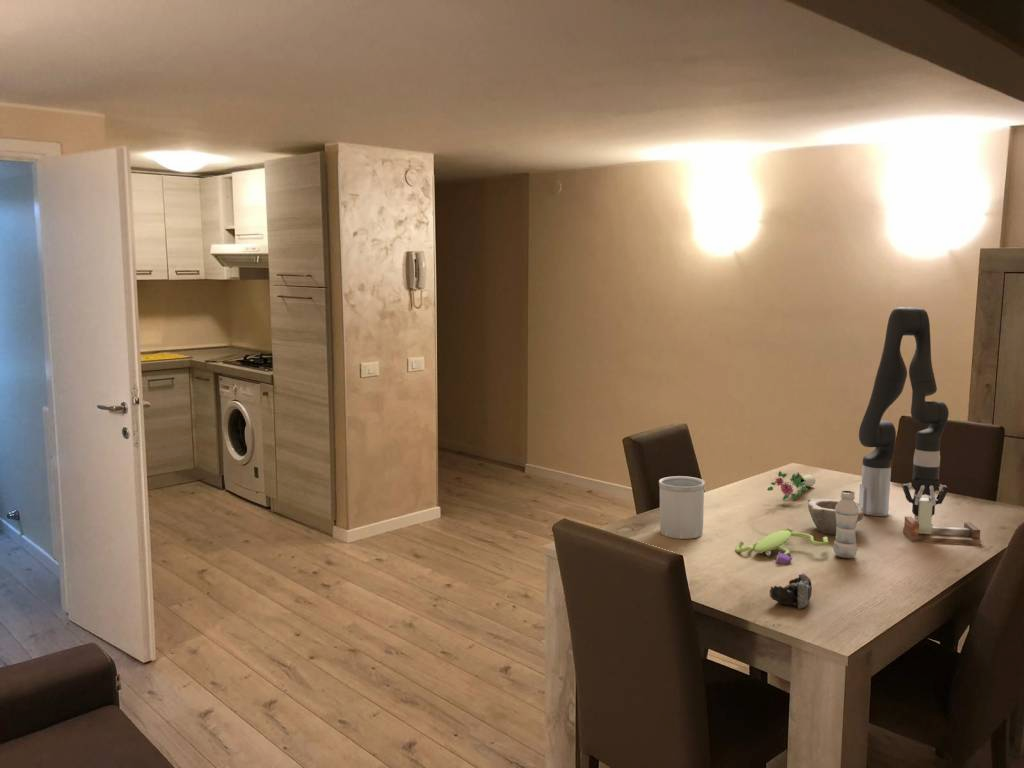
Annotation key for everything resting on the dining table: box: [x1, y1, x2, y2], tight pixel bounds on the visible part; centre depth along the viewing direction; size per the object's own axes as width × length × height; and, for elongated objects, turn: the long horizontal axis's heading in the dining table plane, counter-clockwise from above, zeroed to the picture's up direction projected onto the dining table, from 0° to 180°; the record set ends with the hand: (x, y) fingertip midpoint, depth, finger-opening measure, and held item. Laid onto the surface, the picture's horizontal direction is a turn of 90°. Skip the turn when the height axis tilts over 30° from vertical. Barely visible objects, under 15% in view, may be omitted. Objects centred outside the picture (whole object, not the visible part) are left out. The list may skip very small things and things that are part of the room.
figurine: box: [735, 527, 829, 564], centre depth 246 cm, size 18×27×6 cm
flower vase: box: [766, 470, 816, 501], centre depth 309 cm, size 12×12×35 cm
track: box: [902, 516, 982, 546], centre depth 258 cm, size 20×10×6 cm, turn 79°
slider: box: [912, 497, 934, 534], centre depth 258 cm, size 4×7×10 cm, turn 169°
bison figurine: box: [769, 572, 813, 610], centre depth 208 cm, size 12×7×10 cm
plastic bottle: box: [833, 490, 859, 559], centre depth 240 cm, size 6×7×20 cm
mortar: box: [807, 497, 865, 536], centre depth 266 cm, size 17×17×9 cm
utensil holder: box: [658, 475, 706, 540], centre depth 264 cm, size 15×15×18 cm
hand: (923, 515), depth 258 cm, fingers closed on slider, 3 cm apart
